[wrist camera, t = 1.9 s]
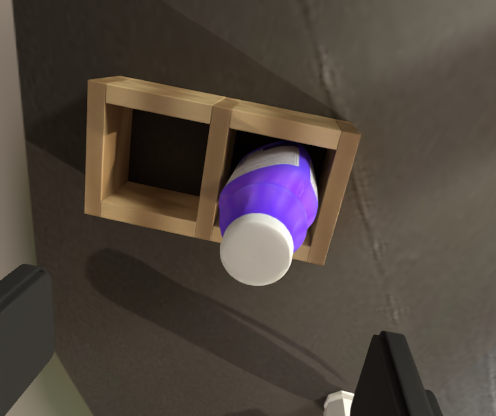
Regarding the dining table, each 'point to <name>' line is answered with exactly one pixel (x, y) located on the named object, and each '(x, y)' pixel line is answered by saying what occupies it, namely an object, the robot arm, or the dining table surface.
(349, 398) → the cup
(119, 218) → the rack
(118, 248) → the dining table surface
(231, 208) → the bottle
